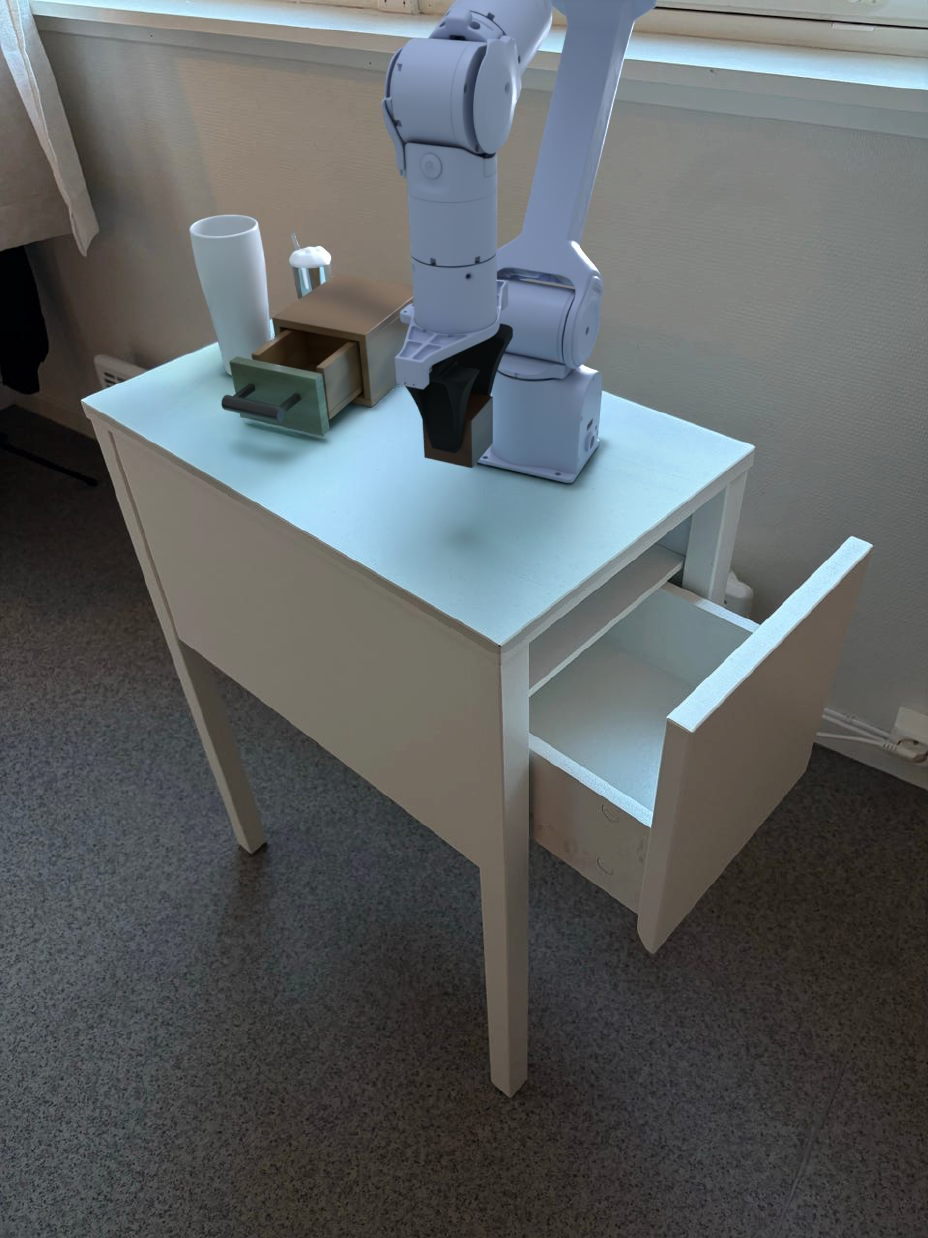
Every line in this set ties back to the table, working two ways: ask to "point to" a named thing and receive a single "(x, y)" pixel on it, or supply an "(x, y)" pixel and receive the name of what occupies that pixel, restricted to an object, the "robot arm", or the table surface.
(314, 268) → the milkshake
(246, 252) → the drinking glass
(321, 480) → the table surface
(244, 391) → the drawer
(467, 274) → the robot arm
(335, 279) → the cabinet
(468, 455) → the block
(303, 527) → the table surface
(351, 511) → the table surface
